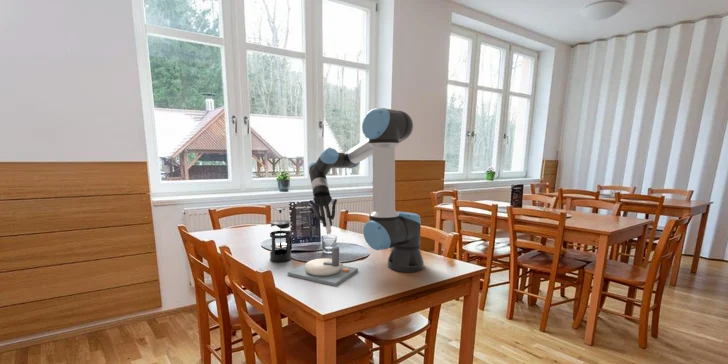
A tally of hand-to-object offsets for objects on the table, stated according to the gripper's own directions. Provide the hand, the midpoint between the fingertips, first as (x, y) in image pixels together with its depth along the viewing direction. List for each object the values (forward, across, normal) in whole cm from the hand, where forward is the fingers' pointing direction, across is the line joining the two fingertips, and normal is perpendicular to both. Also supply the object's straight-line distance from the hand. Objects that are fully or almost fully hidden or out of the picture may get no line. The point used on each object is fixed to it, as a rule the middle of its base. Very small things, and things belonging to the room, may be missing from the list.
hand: (329, 232), depth 139 cm
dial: (+15, +5, -3) cm, 16 cm away
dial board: (+16, +5, -4) cm, 17 cm away
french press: (0, +19, -20) cm, 27 cm away
